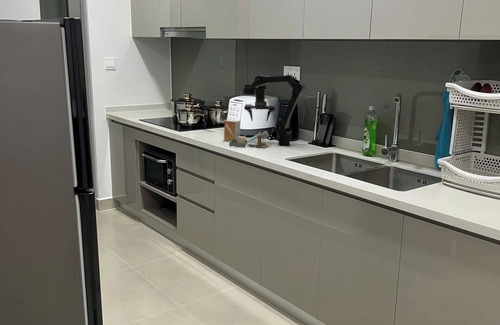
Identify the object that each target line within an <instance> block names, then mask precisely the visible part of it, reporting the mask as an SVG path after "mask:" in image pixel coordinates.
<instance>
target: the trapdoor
mask: <svg viewBox="0 0 500 325" xmlns="http://www.w3.org/2000/svg"><path fill="white" fill-rule="evenodd" d="M258 135H261V140H265V139H267V138H268V137H269V136H270V134H269V132H268V131H267V130H264V131H263V132H262V133H259V132H258V133H257V134H255V135H254V136H252V137H250V138H249V139H247V144H249V143H251V142H253V141H254V140H256V139H258Z"/></svg>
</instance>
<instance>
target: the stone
mask: <svg viewBox="0 0 500 325" xmlns="http://www.w3.org/2000/svg"><path fill="white" fill-rule="evenodd" d="M246 138H247V137H246V136H242V135H240V136H238V138H237V143H245V140H247V139H246Z"/></svg>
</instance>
